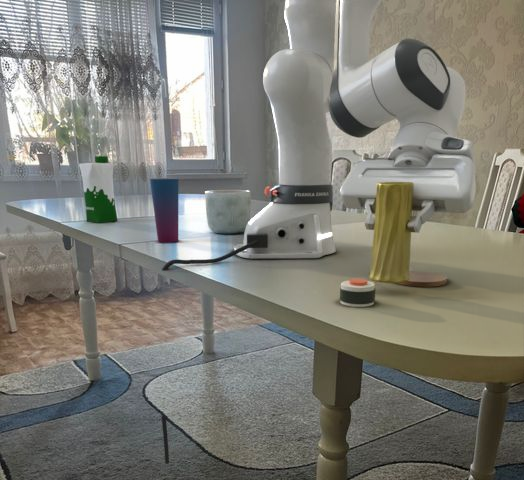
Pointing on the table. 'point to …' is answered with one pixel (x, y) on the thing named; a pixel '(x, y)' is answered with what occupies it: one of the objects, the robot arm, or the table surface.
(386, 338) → the table surface
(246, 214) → the planter
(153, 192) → the cup
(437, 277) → the coaster
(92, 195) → the milk carton
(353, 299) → the sushi
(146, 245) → the table surface
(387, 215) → the vase
